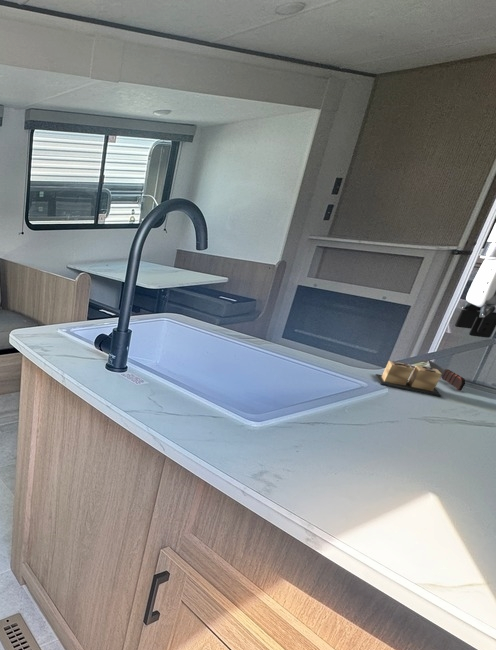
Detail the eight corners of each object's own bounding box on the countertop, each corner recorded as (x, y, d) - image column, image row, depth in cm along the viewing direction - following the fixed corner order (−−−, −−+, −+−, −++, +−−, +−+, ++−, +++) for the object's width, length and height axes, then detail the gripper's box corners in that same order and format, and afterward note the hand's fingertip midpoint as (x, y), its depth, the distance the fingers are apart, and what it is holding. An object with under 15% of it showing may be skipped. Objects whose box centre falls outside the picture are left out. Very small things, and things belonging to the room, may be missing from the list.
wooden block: (401, 380, 109) (409, 363, 107) (405, 385, 105) (413, 368, 104) (381, 376, 111) (389, 359, 109) (384, 381, 107) (392, 364, 106)
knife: (421, 368, 120) (426, 358, 119) (426, 368, 119) (431, 358, 118) (457, 390, 105) (463, 379, 104) (462, 391, 105) (468, 380, 104)
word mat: (431, 386, 107) (432, 384, 107) (440, 396, 101) (441, 395, 101) (375, 375, 113) (376, 373, 112) (380, 384, 106) (381, 383, 106)
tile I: (428, 385, 106) (437, 368, 104) (433, 391, 103) (442, 373, 101) (407, 381, 108) (416, 364, 106) (411, 386, 105) (420, 369, 103)
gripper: (556, 256, 81) (511, 343, 87) (517, 251, 94) (480, 327, 101) (499, 253, 84) (460, 337, 91) (469, 249, 98) (437, 322, 104)
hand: (471, 331), depth 96 cm, fingers open, 9 cm apart
